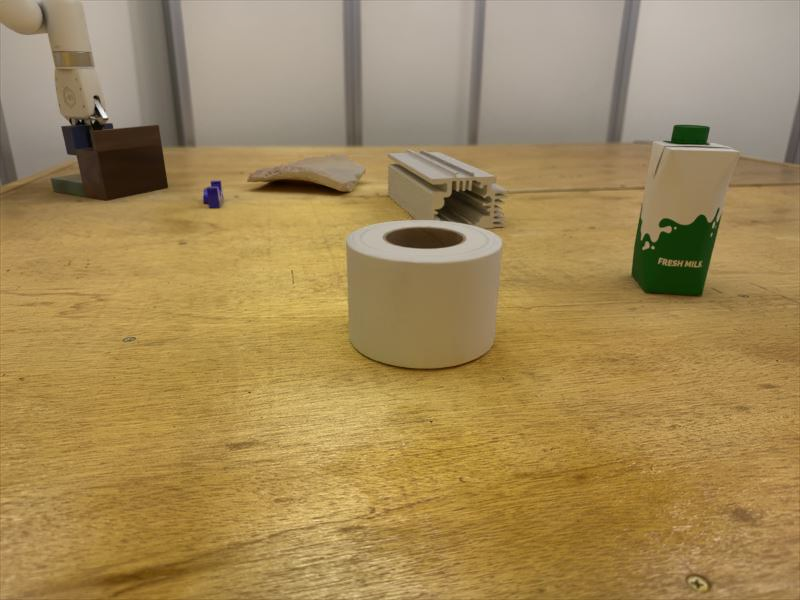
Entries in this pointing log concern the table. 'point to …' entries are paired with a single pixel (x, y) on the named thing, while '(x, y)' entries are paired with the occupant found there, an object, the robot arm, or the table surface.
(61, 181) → the rack
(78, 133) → the rectangular block
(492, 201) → the aluminum extrusion profile
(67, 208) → the table surface
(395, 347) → the tape roll
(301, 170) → the pottery shard
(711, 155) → the milk carton
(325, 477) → the table surface
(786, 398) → the table surface
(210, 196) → the cable holder
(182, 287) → the table surface
